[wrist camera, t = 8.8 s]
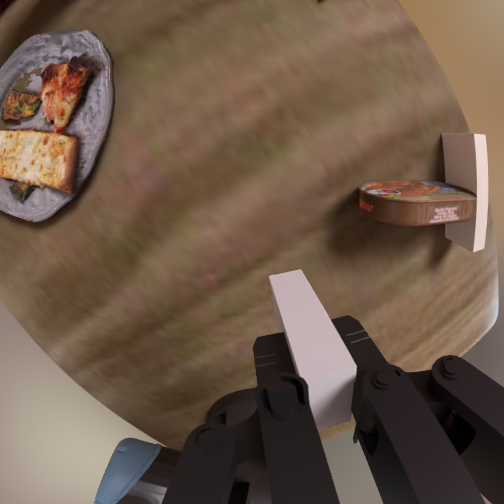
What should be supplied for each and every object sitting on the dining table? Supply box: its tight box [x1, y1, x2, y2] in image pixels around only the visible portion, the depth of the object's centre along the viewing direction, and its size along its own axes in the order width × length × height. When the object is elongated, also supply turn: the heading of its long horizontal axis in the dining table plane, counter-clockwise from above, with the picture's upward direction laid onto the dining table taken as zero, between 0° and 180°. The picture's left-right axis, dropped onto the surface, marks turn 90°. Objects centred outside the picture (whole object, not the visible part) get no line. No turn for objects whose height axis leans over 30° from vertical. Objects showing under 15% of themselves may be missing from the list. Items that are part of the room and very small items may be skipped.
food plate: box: [0, 30, 115, 222], centre depth 20 cm, size 25×23×4 cm
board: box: [442, 133, 488, 252], centre depth 25 cm, size 14×2×6 cm, turn 11°
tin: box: [359, 180, 477, 227], centre depth 24 cm, size 15×3×8 cm, turn 96°
